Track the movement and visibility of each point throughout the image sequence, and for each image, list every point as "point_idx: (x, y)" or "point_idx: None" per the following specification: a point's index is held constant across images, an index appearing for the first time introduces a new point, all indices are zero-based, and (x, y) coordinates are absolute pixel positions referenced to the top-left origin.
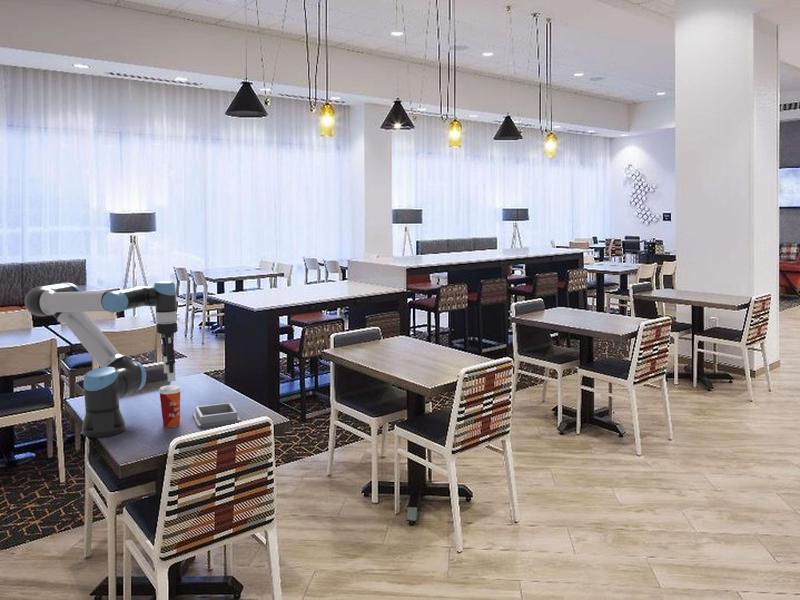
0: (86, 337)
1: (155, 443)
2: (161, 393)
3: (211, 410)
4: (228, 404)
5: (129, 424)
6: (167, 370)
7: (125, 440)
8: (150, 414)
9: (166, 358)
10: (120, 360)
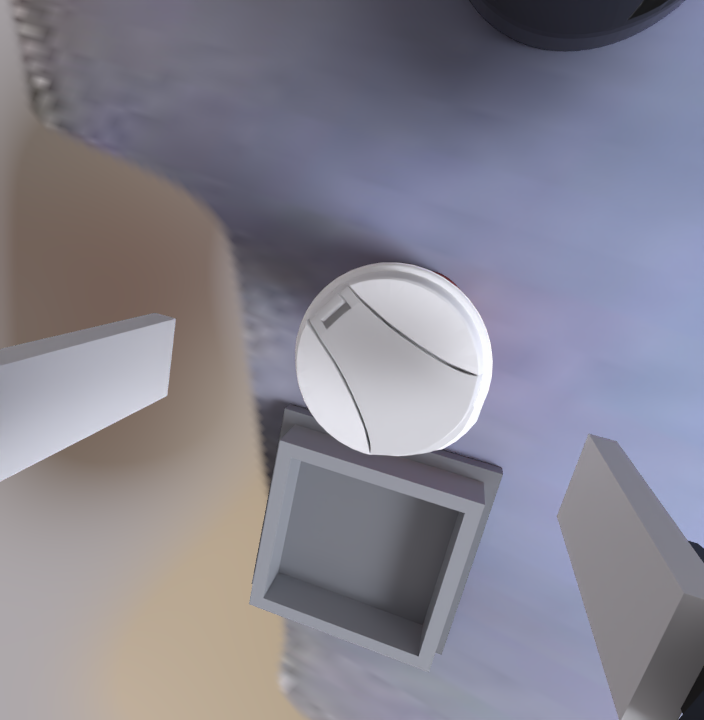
0: None
1: (189, 145)
2: (350, 271)
3: (445, 558)
4: (419, 651)
5: (617, 94)
6: (50, 339)
7: (319, 3)
8: None
9: (641, 616)
10: None
